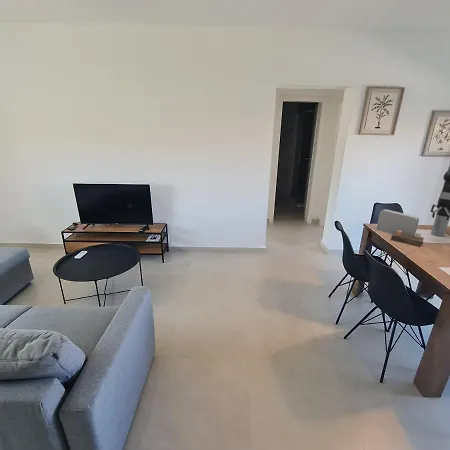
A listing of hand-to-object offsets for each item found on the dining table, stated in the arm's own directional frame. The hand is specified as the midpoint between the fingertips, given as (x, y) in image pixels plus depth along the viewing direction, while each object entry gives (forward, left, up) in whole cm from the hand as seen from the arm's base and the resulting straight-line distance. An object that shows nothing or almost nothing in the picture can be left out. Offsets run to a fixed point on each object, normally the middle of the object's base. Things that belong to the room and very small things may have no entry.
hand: (439, 219), depth 216 cm
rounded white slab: (+2, -27, -19) cm, 33 cm away
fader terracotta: (+18, -22, -14) cm, 32 cm away
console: (+15, -16, -19) cm, 29 cm away
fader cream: (+12, -10, -14) cm, 21 cm away
